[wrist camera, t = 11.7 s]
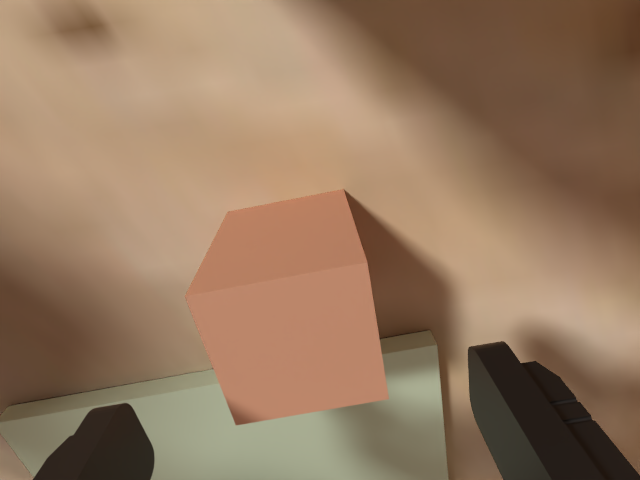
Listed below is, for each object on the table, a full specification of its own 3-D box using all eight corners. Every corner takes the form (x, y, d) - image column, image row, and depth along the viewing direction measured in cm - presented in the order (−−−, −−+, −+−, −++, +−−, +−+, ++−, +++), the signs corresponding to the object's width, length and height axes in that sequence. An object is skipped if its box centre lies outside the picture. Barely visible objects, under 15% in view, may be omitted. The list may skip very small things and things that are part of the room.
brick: (227, 211, 15) (184, 296, 10) (343, 189, 15) (367, 262, 9) (257, 307, 17) (235, 425, 11) (360, 289, 17) (389, 399, 11)
